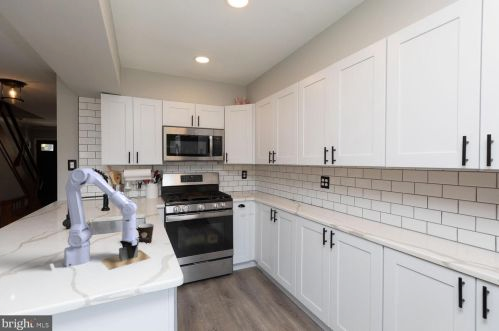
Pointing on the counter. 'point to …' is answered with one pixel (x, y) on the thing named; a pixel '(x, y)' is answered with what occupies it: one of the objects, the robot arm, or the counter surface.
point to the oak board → (116, 262)
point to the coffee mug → (145, 232)
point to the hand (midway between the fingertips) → (129, 256)
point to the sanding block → (126, 254)
